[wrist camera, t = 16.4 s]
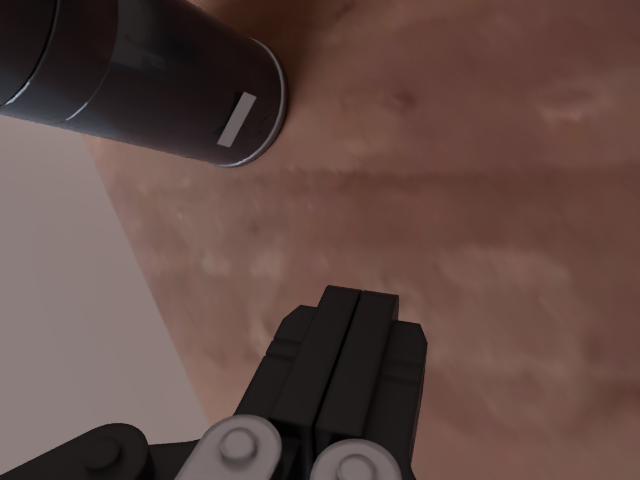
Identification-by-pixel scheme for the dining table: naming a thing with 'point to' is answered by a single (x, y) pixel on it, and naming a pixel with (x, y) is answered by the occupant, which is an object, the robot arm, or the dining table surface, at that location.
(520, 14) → the dining table surface
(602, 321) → the dining table surface
